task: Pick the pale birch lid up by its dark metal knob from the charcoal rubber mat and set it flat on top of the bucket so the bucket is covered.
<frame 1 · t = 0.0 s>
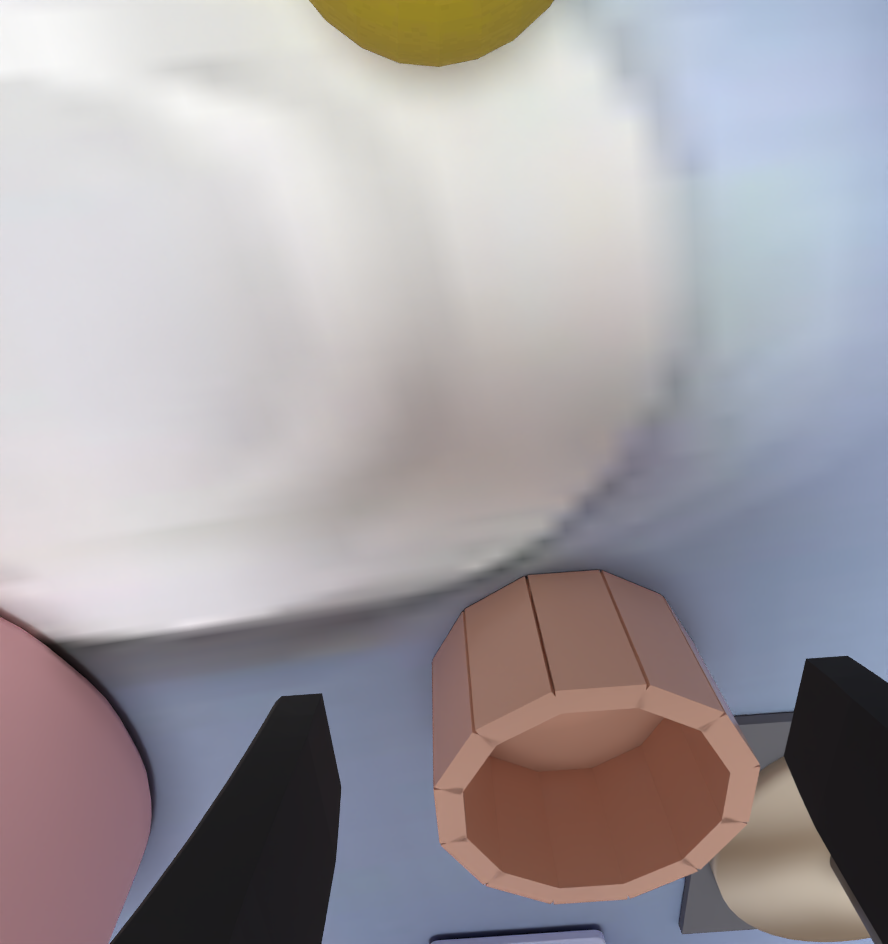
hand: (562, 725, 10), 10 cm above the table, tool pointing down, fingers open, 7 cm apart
mat: (850, 821, 27), on the table
bucket: (561, 677, 23), on the table
lid: (855, 829, 26), resting on mat
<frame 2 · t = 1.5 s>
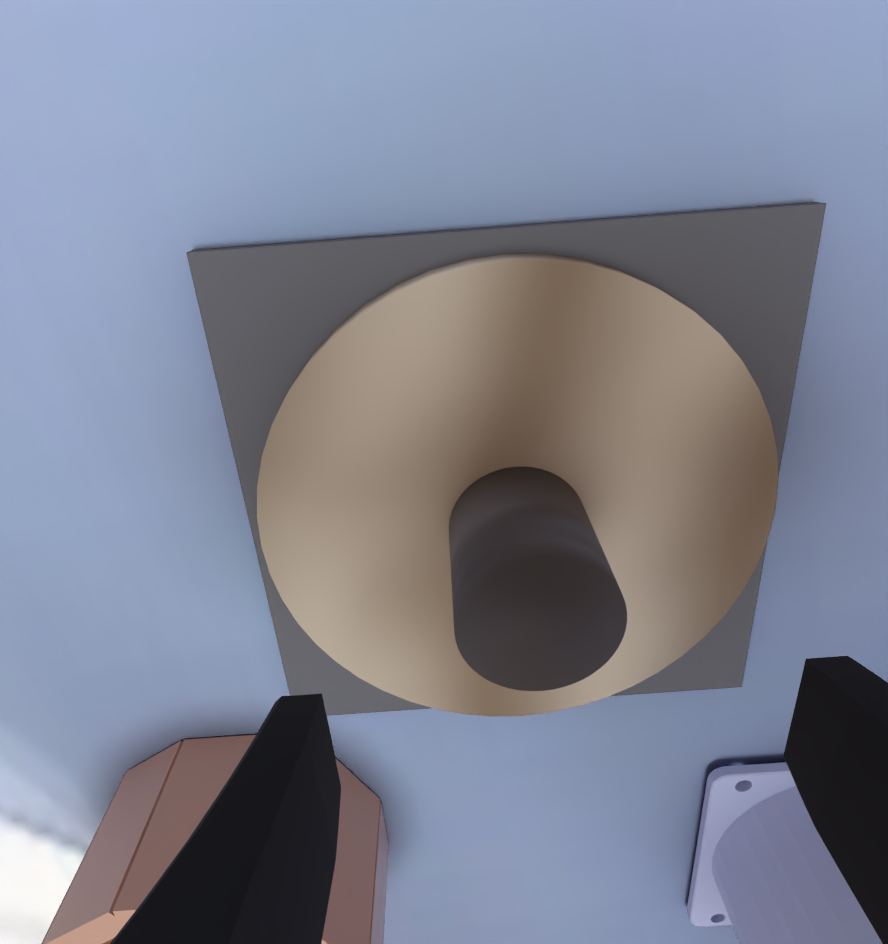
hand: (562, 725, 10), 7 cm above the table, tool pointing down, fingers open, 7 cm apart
mat: (510, 499, 16), on the table
bucket: (251, 833, 22), on the table
lid: (512, 507, 16), resting on mat
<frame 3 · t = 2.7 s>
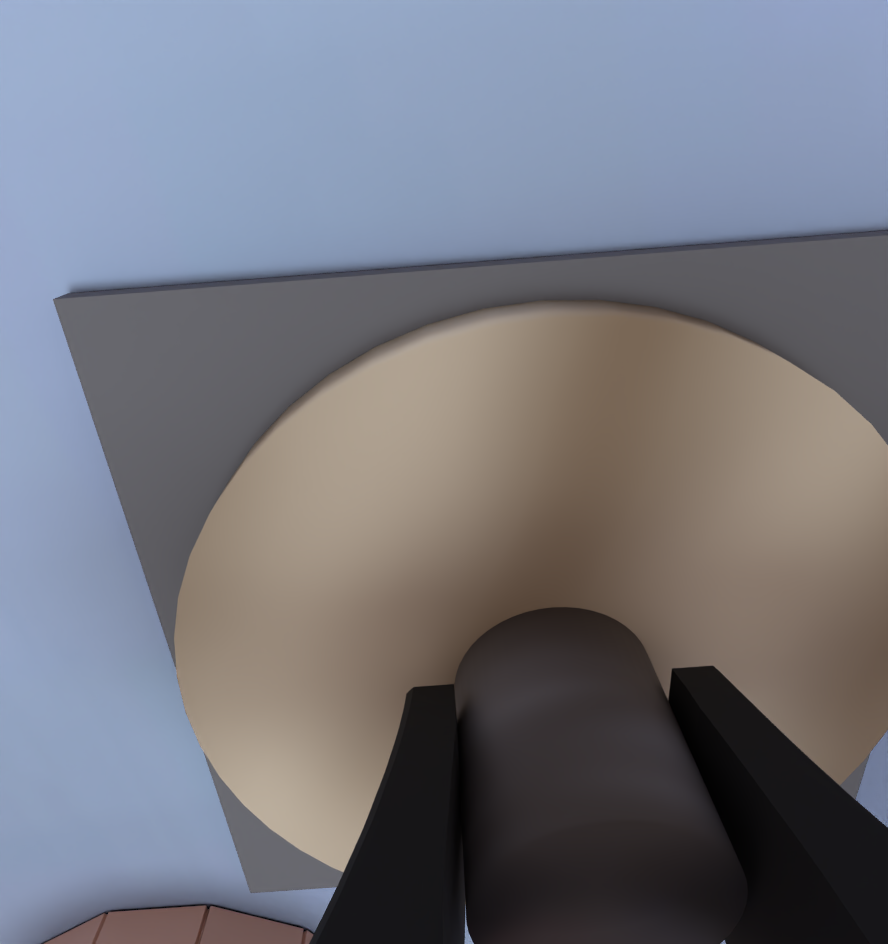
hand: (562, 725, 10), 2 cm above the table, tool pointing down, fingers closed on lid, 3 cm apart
mat: (539, 629, 12), on the table
lid: (542, 644, 11), resting on mat, touching gripper
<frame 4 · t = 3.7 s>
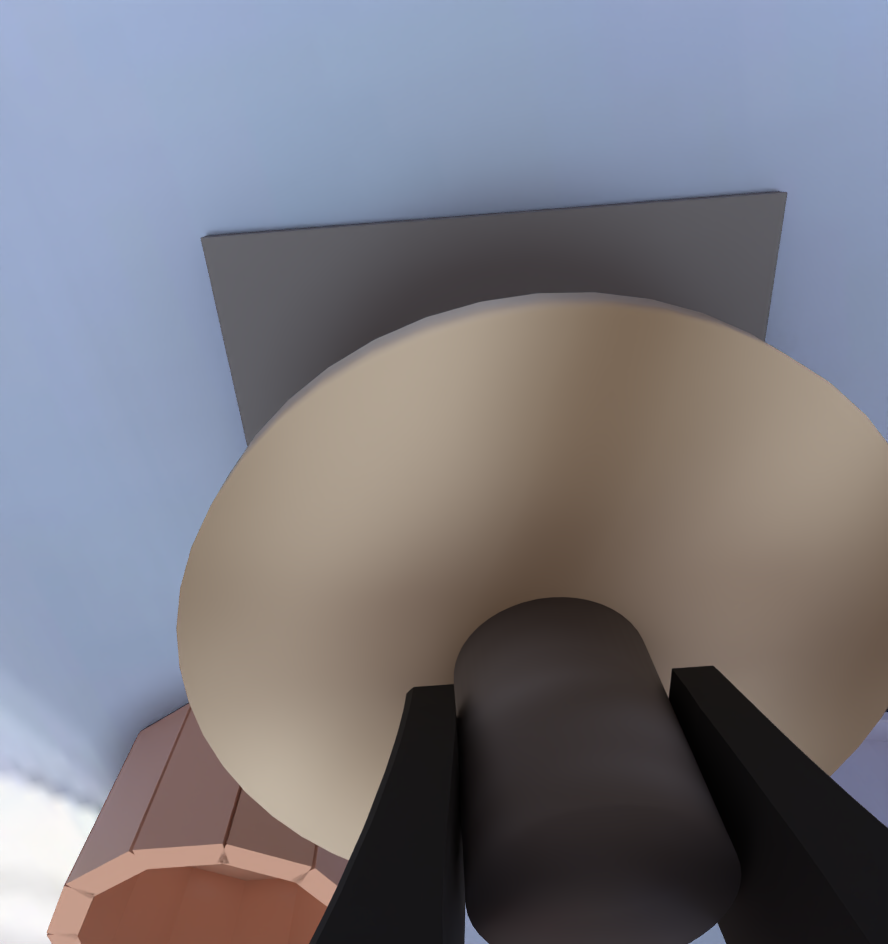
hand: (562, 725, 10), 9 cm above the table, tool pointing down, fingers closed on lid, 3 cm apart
mat: (500, 470, 18), on the table
bucket: (257, 791, 23), on the table
lid: (540, 634, 12), point 7 cm above the table, touching gripper
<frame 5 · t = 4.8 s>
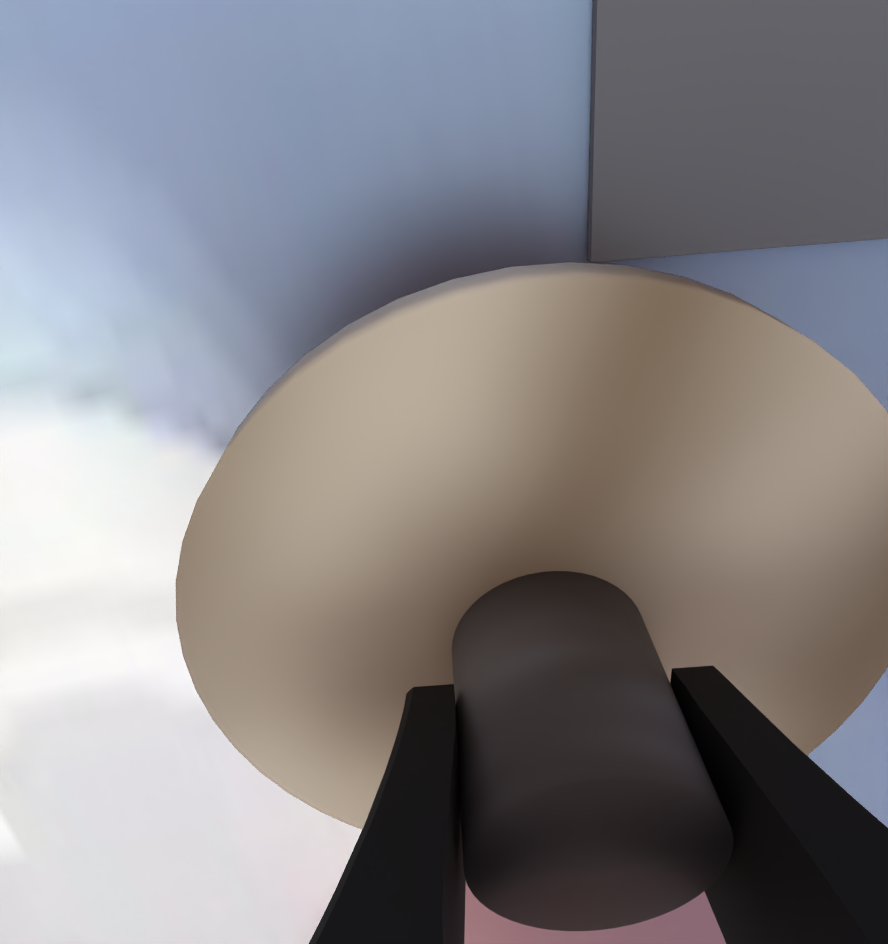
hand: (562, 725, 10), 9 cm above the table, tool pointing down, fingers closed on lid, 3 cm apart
lid: (538, 606, 12), point 7 cm above the table, touching gripper
when the fingers open (8 cm above the table, at t = 5.5 s): lid stays where it is, resting on bucket.
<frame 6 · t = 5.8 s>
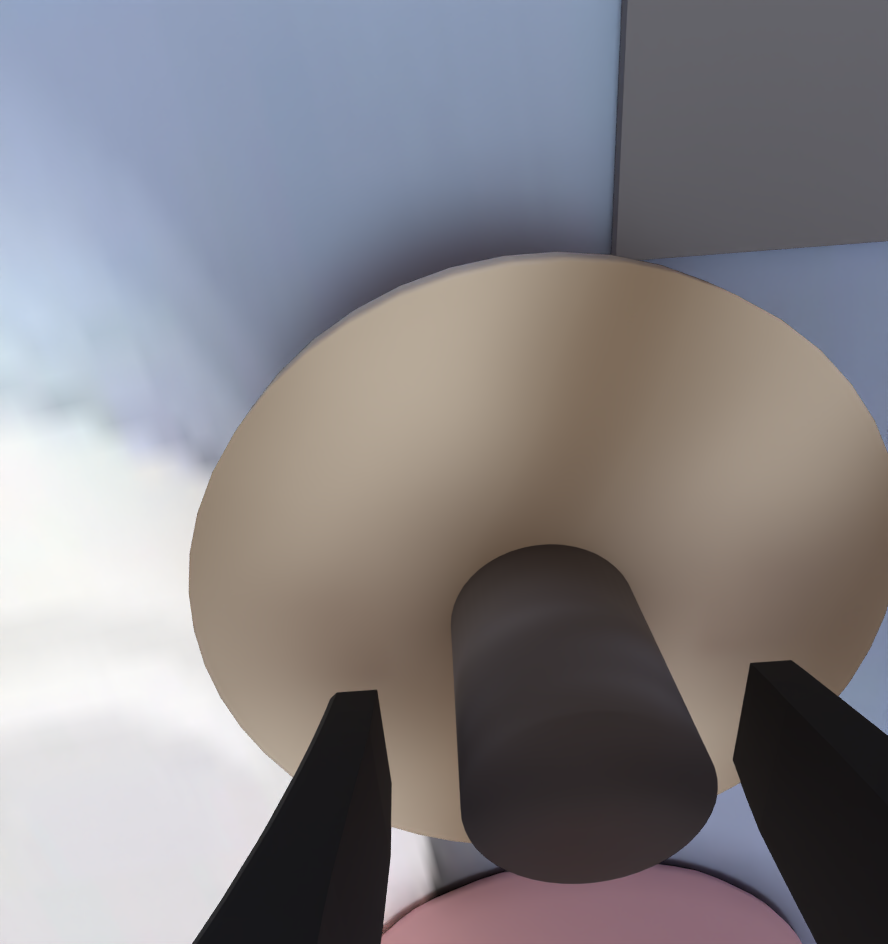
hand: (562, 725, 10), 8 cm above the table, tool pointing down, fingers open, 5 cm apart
lid: (534, 587, 12), point 5 cm above the table, touching bucket
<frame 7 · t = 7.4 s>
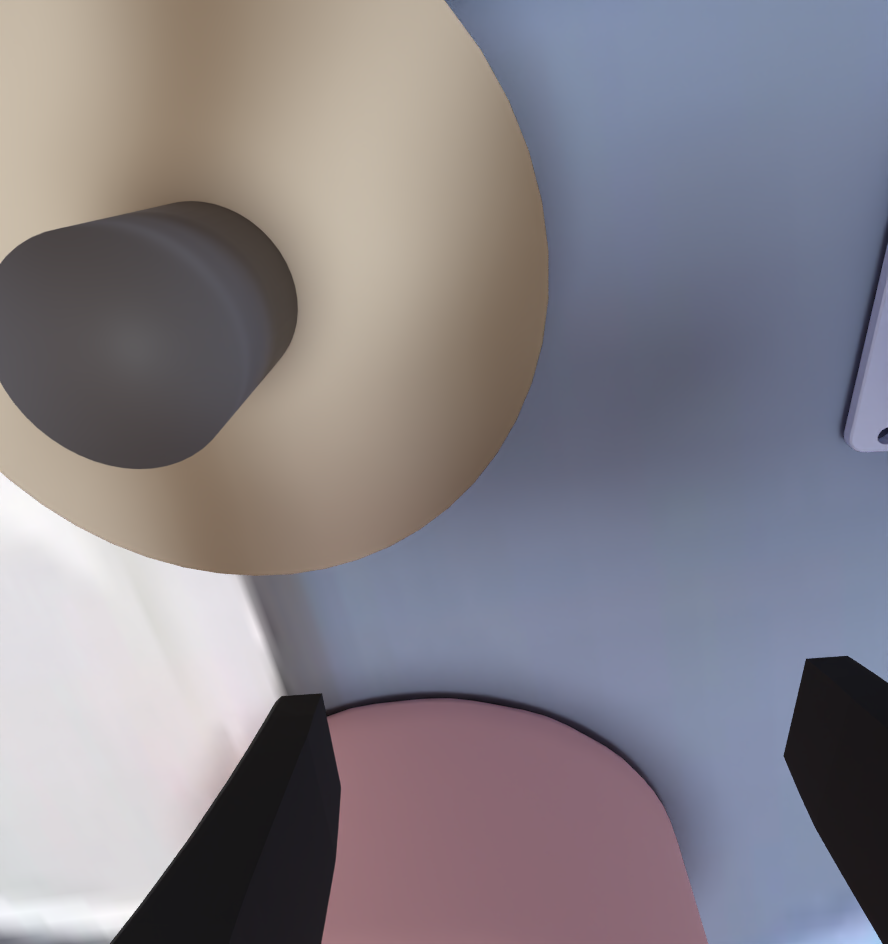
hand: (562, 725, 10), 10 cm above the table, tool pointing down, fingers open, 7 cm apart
cake: (439, 848, 29), on the table
lid: (226, 287, 12), point 5 cm above the table, touching bucket
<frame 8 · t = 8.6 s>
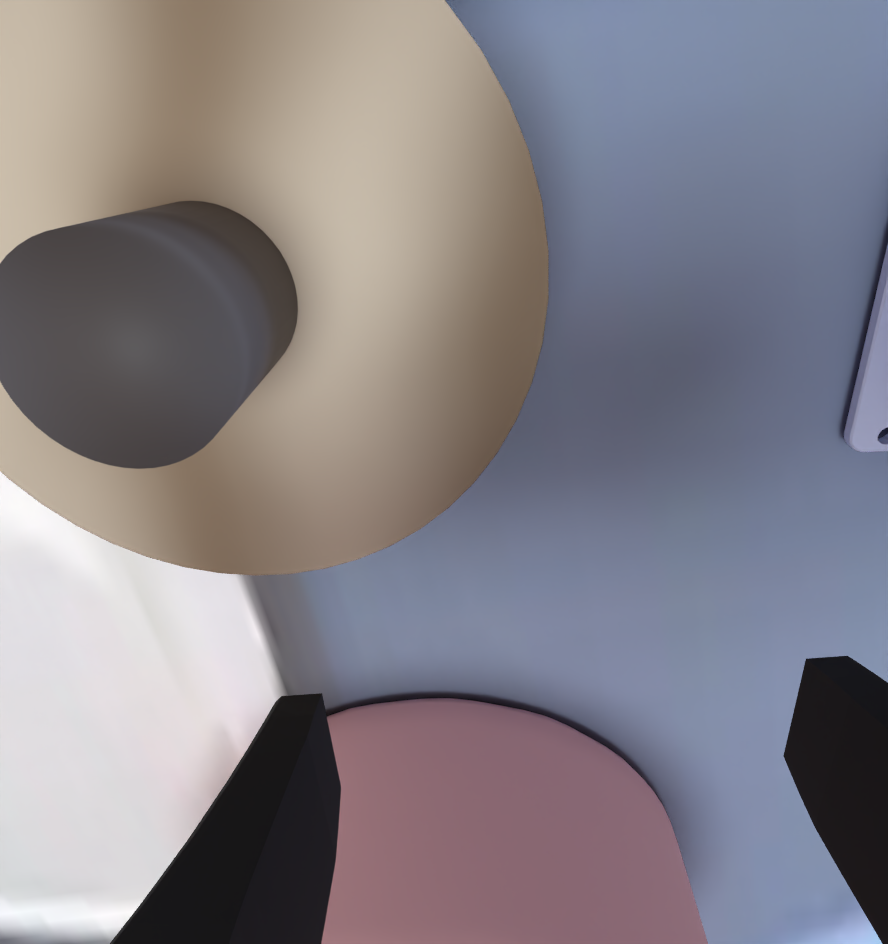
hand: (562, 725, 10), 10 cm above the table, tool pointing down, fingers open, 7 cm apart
cake: (439, 848, 29), on the table
lid: (226, 286, 12), point 5 cm above the table, touching bucket
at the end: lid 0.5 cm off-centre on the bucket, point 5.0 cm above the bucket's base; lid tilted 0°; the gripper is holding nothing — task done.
